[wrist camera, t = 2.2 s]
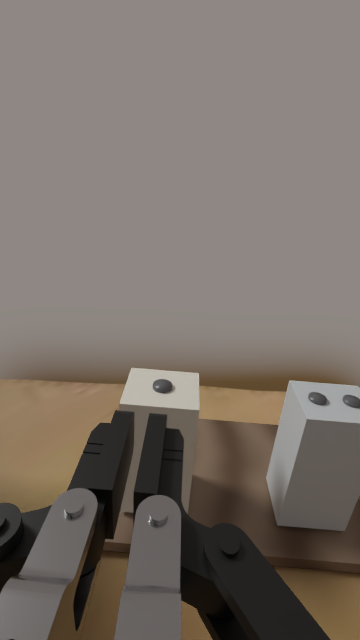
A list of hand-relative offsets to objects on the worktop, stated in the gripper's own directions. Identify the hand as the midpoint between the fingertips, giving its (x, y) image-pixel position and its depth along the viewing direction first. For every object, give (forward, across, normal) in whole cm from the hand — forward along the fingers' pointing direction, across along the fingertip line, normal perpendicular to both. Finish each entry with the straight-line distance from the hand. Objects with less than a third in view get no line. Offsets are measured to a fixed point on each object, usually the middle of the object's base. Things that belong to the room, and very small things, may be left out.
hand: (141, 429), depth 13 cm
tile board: (+15, -7, +20) cm, 26 cm away
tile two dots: (+12, -14, +18) cm, 26 cm away
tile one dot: (+12, 0, +18) cm, 22 cm away
